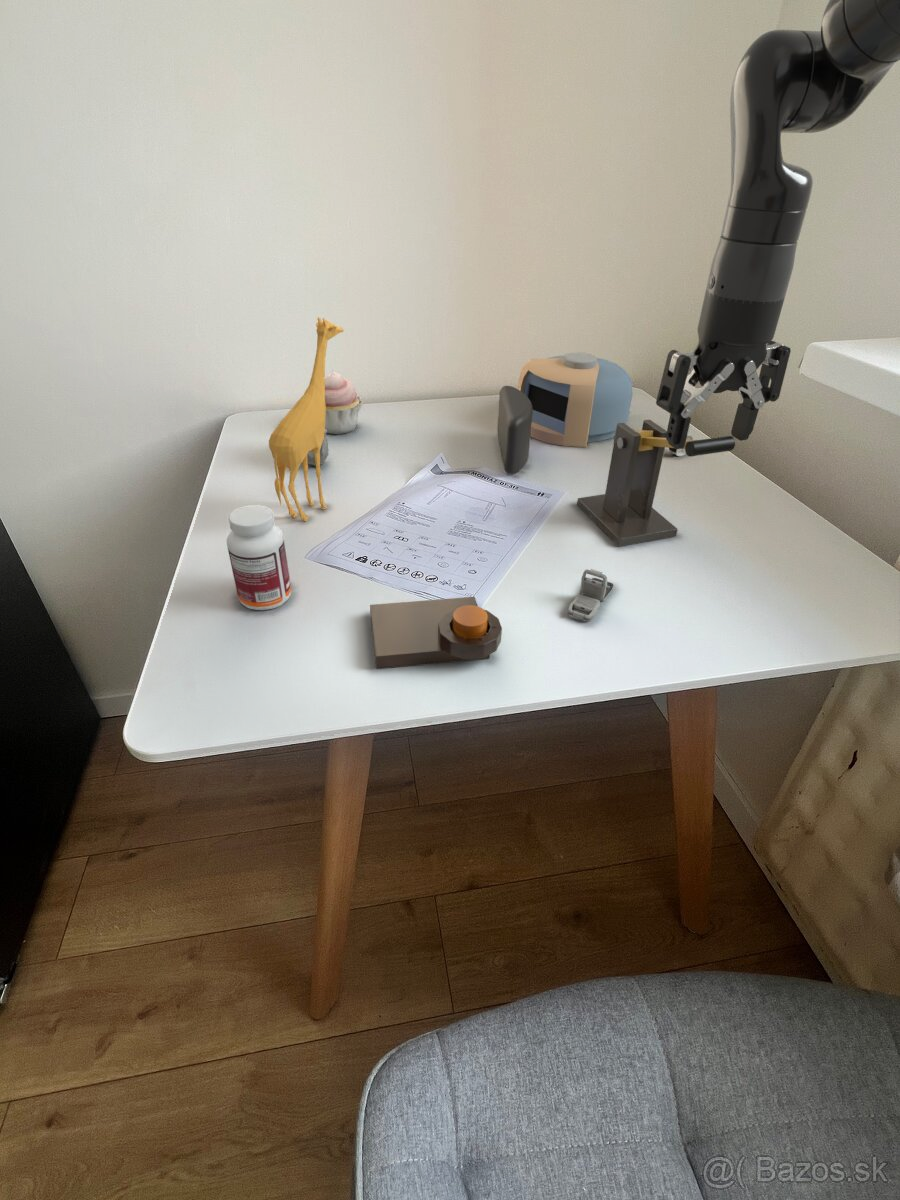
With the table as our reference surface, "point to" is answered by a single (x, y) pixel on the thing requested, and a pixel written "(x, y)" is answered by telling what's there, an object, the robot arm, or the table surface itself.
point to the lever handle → (688, 444)
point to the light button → (470, 621)
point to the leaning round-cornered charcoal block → (514, 428)
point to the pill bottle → (258, 558)
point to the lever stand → (630, 491)
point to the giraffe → (303, 427)
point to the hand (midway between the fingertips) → (707, 442)
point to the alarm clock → (576, 398)
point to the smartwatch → (682, 452)
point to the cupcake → (340, 404)
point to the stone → (322, 452)
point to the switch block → (427, 633)
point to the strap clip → (590, 596)
